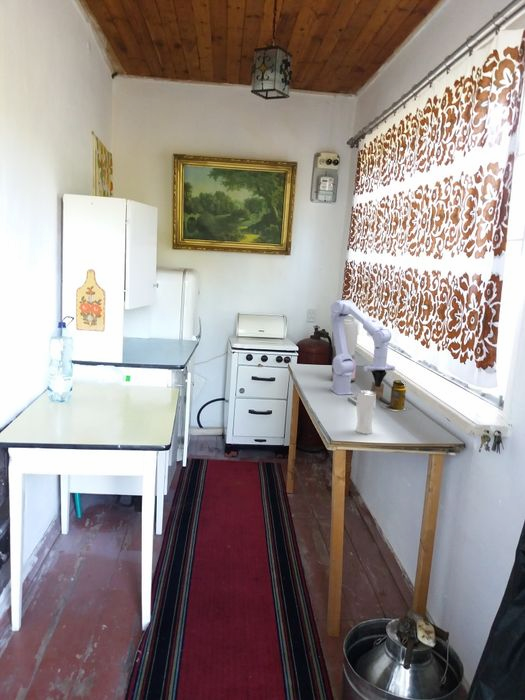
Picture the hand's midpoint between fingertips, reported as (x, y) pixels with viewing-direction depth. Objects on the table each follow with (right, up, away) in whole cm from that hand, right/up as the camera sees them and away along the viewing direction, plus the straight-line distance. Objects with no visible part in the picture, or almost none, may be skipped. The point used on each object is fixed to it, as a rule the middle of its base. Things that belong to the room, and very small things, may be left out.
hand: (377, 386), depth 235 cm
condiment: (+6, -9, -6) cm, 13 cm away
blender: (-11, 0, +39) cm, 40 cm away
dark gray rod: (+4, -7, +3) cm, 9 cm away
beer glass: (-14, -14, -39) cm, 43 cm away
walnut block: (+2, -6, +10) cm, 11 cm away
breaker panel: (-8, -7, -1) cm, 11 cm away
